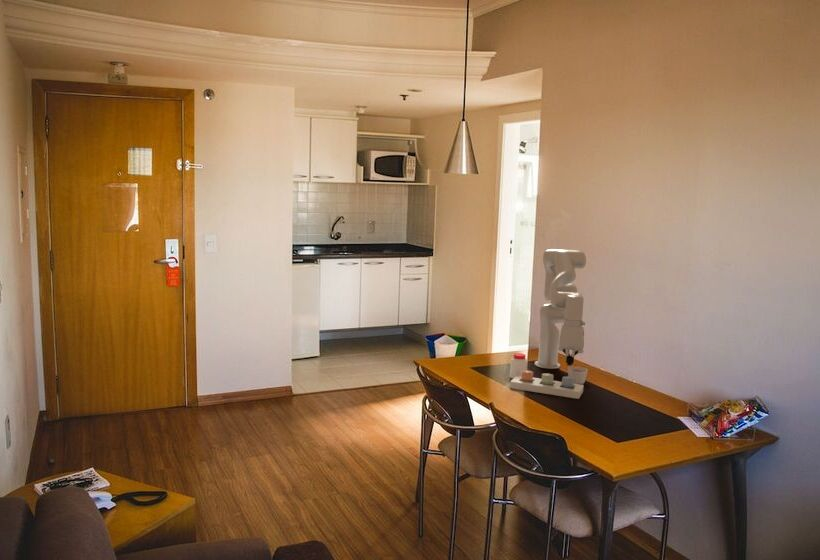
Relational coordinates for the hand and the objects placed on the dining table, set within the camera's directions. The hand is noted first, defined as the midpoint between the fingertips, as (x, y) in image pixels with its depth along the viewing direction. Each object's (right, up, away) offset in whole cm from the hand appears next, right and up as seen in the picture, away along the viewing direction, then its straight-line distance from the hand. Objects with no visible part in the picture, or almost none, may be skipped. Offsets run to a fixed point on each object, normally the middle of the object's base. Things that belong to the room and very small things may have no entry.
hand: (569, 364), depth 295 cm
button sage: (-9, -9, +5) cm, 14 cm away
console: (-9, -12, +6) cm, 16 cm away
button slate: (0, -10, +2) cm, 10 cm away
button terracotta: (-17, -8, +9) cm, 21 cm away
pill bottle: (-19, -9, +23) cm, 31 cm away
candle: (+8, -11, +20) cm, 24 cm away
